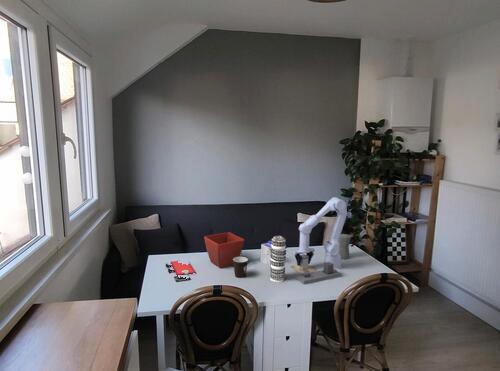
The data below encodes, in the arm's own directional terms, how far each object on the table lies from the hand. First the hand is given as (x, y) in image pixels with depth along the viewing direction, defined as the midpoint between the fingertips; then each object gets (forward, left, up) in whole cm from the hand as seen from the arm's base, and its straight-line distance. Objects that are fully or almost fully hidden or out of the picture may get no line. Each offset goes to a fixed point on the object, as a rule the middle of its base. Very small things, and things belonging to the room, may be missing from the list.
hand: (303, 264), depth 210 cm
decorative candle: (+22, +6, -3) cm, 23 cm away
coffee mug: (+38, -7, -3) cm, 39 cm away
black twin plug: (-7, +15, -3) cm, 17 cm away
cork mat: (0, 0, -3) cm, 3 cm away
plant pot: (+41, -29, -3) cm, 50 cm away
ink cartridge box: (+15, -17, -3) cm, 23 cm away
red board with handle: (+69, -28, -4) cm, 75 cm away
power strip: (0, +15, -3) cm, 15 cm away
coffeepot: (-38, -6, -3) cm, 39 cm away
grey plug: (0, 0, -2) cm, 2 cm away
